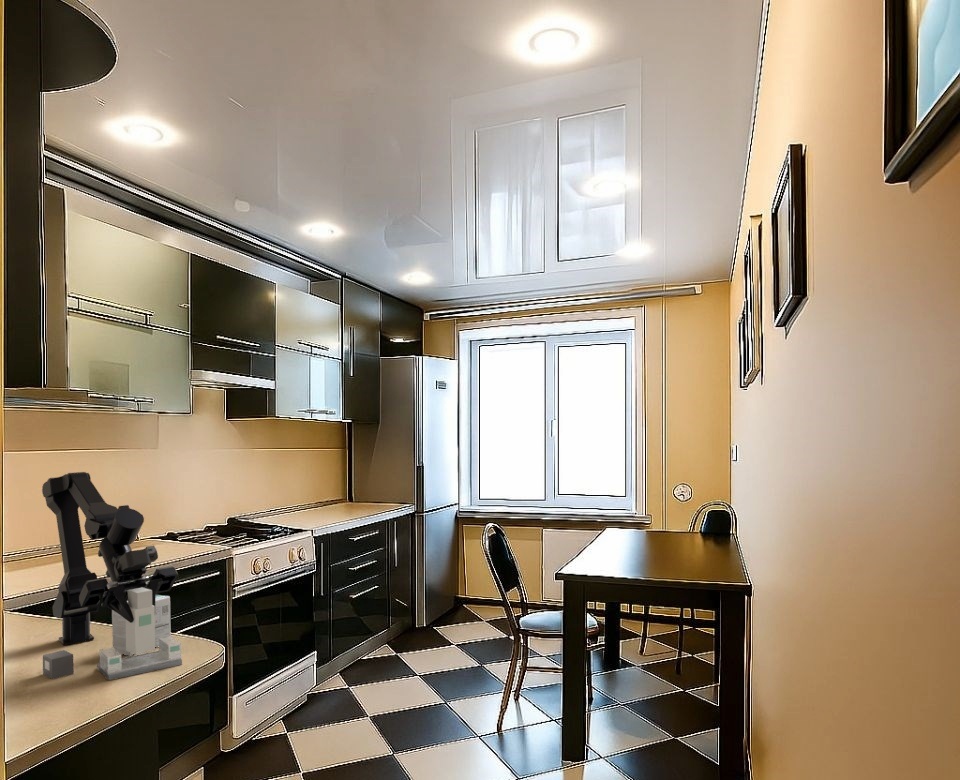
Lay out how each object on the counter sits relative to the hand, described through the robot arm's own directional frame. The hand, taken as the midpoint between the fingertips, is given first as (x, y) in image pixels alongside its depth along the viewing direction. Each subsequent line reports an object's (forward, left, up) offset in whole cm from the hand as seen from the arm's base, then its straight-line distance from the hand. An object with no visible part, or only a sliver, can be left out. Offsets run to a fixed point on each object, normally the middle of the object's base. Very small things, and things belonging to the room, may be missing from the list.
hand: (143, 619), depth 153 cm
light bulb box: (-16, +4, -10) cm, 20 cm away
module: (-1, 0, -7) cm, 7 cm away
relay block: (-9, -14, -10) cm, 20 cm away
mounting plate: (-2, 0, -10) cm, 10 cm away
